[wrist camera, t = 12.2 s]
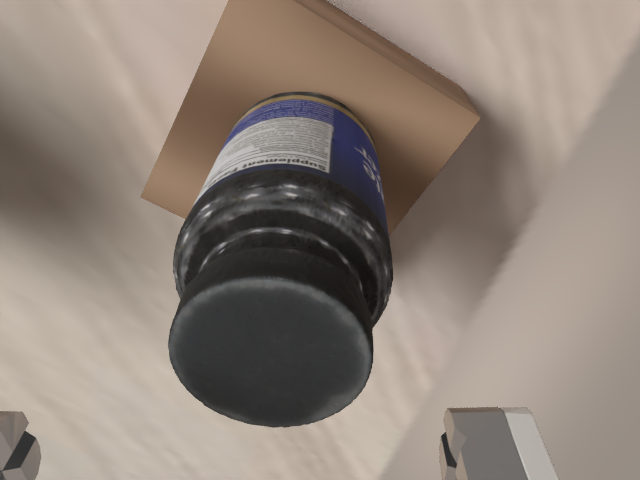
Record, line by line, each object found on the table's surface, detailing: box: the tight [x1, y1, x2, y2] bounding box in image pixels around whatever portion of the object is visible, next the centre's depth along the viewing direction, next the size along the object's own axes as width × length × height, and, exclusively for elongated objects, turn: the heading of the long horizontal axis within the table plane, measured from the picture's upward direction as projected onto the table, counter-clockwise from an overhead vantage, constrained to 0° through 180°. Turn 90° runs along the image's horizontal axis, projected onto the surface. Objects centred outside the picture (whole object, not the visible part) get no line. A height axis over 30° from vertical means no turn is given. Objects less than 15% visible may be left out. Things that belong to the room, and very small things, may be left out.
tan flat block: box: [141, 0, 480, 235], centre depth 23 cm, size 10×10×4 cm
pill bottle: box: [168, 92, 393, 427], centre depth 17 cm, size 6×6×11 cm
